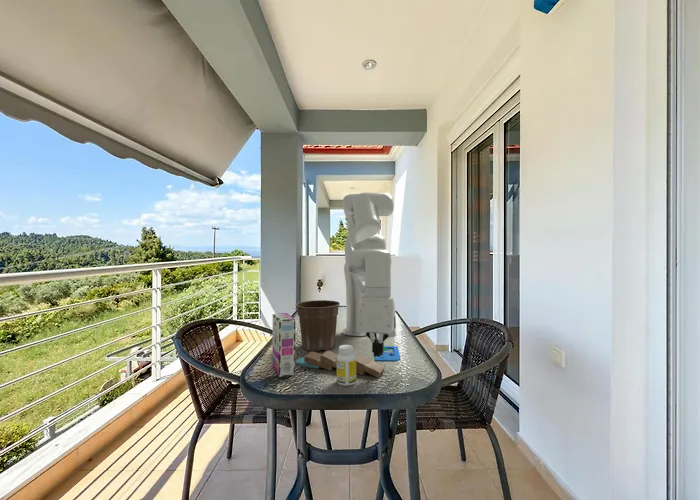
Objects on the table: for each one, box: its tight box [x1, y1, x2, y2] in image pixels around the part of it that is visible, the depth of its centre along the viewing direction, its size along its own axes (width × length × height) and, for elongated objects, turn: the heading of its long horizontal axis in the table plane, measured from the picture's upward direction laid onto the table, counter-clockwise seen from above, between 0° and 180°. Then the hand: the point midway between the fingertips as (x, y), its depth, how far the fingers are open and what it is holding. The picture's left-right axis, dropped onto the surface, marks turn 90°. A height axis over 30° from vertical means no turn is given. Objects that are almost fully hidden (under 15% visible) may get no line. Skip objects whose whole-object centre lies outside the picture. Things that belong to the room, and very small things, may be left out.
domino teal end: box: [295, 356, 321, 369], centre depth 107 cm, size 2×5×9 cm
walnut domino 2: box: [320, 349, 338, 369], centre depth 103 cm, size 2×5×9 cm
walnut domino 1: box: [304, 351, 335, 371], centre depth 105 cm, size 2×5×9 cm
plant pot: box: [295, 299, 341, 352], centre depth 125 cm, size 16×16×16 cm
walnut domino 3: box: [335, 358, 366, 376], centre depth 101 cm, size 2×5×9 cm
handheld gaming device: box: [374, 345, 401, 362], centre depth 117 cm, size 8×1×15 cm
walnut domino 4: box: [355, 353, 386, 379], centre depth 100 cm, size 2×5×9 cm
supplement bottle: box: [336, 344, 357, 387], centre depth 93 cm, size 5×5×10 cm
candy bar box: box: [271, 312, 296, 378], centre depth 102 cm, size 11×5×16 cm, turn 23°
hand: (377, 355), depth 98 cm, fingers closed
